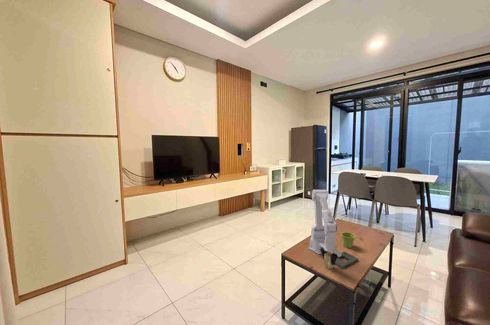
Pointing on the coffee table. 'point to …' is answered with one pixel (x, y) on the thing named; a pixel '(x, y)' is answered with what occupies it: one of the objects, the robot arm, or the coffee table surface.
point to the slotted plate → (348, 257)
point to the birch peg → (328, 260)
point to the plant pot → (348, 239)
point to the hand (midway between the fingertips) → (329, 262)
